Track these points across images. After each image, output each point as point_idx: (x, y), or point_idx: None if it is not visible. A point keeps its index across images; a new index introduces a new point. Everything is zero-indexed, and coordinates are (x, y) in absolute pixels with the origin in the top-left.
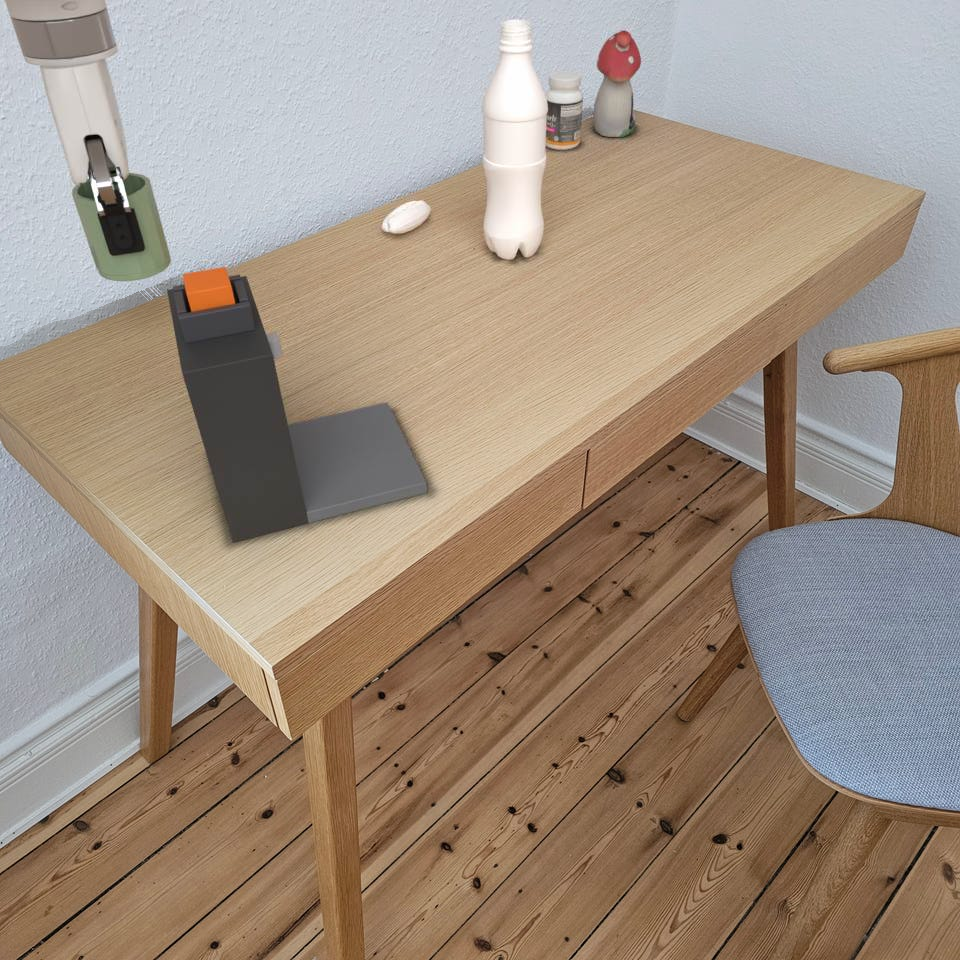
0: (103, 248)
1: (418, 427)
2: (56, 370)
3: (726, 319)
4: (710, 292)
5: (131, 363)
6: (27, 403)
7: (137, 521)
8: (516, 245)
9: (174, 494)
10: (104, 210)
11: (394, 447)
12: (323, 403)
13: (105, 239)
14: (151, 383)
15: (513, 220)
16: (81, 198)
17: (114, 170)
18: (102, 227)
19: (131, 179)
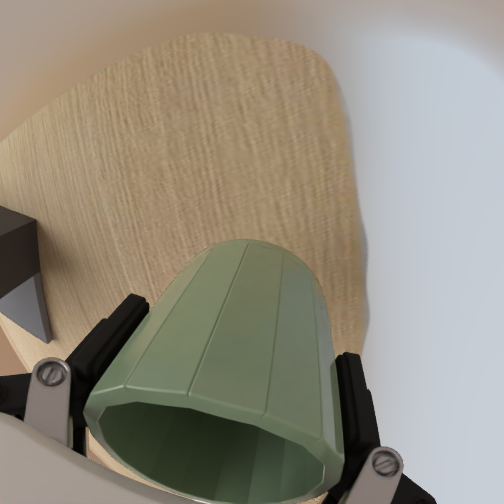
0: (165, 293)
1: (40, 340)
2: (251, 95)
3: (107, 463)
4: (131, 476)
5: (206, 193)
6: (189, 52)
7: (5, 146)
8: None
9: (13, 176)
10: (21, 374)
11: (14, 317)
12: (67, 317)
13: (112, 315)
14: (147, 201)
15: (196, 500)
16: (126, 393)
17: (341, 496)
18: (91, 337)
19: (276, 491)
